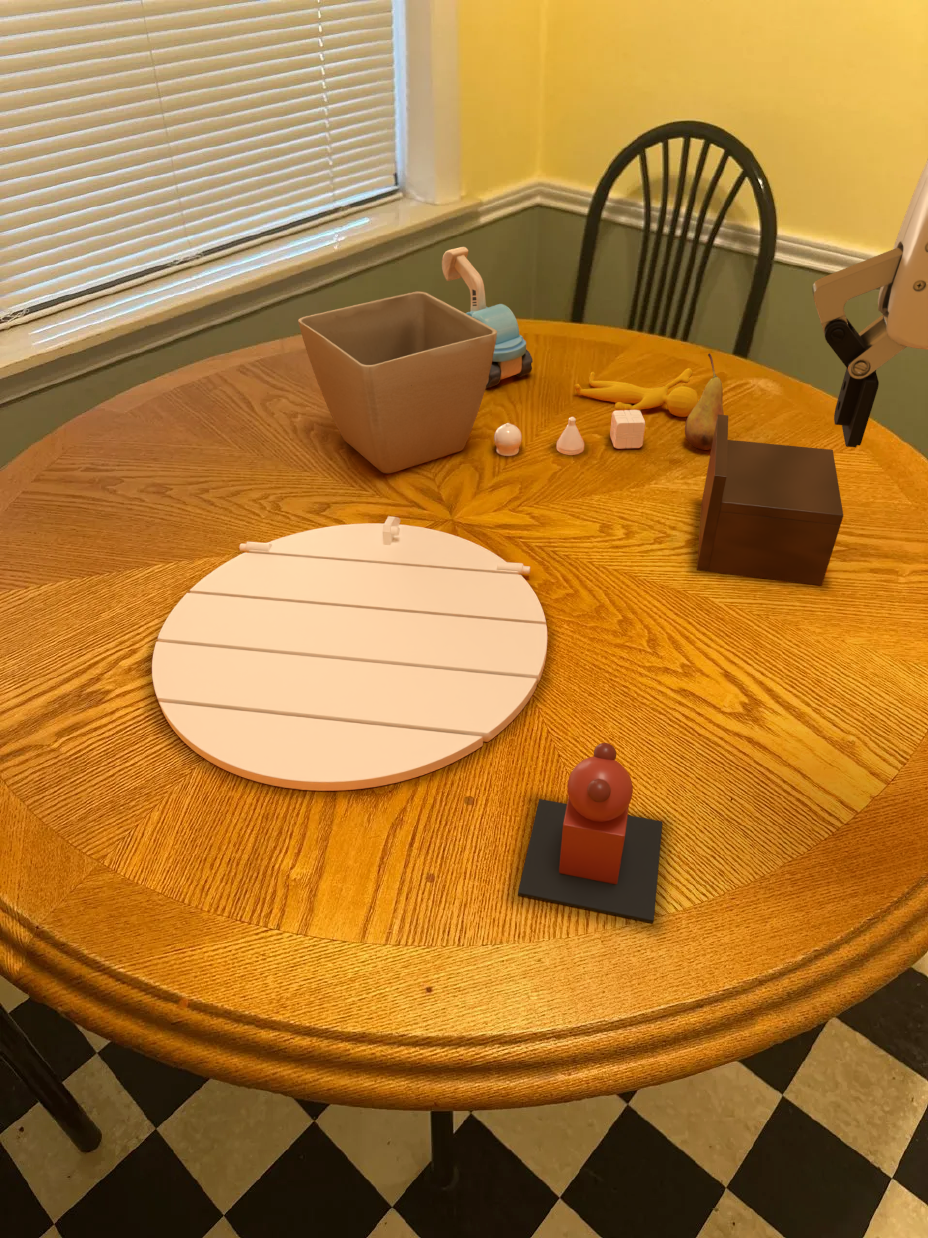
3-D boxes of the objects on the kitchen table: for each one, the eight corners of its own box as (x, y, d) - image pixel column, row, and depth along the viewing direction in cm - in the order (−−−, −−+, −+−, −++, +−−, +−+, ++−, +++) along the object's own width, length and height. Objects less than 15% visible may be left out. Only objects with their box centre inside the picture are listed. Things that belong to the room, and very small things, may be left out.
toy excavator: (475, 345, 145) (474, 238, 134) (536, 379, 134) (540, 265, 124) (433, 358, 142) (428, 249, 131) (492, 393, 131) (492, 278, 120)
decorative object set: (643, 452, 116) (646, 421, 113) (494, 457, 116) (495, 426, 113) (636, 436, 119) (640, 406, 117) (492, 441, 119) (492, 411, 116)
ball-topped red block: (624, 834, 68) (639, 743, 61) (617, 889, 64) (632, 798, 57) (566, 823, 69) (575, 733, 62) (556, 876, 65) (564, 786, 58)
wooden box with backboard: (814, 516, 103) (839, 425, 95) (821, 586, 93) (851, 489, 85) (701, 504, 106) (717, 414, 98) (696, 570, 95) (714, 475, 88)
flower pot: (427, 401, 129) (421, 287, 118) (500, 452, 117) (501, 330, 106) (312, 436, 121) (294, 318, 110) (376, 495, 109) (364, 367, 98)
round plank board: (242, 516, 106) (237, 492, 103) (561, 540, 100) (563, 515, 98) (79, 763, 75) (66, 736, 73) (524, 816, 70) (525, 789, 68)
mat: (662, 824, 69) (662, 821, 69) (653, 923, 62) (653, 920, 62) (539, 801, 71) (539, 798, 71) (517, 895, 64) (517, 892, 64)
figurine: (602, 355, 133) (715, 369, 125) (602, 384, 136) (713, 399, 127) (560, 388, 125) (678, 405, 116) (561, 417, 128) (676, 437, 119)
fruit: (676, 451, 116) (689, 365, 108) (688, 433, 120) (702, 349, 112) (717, 460, 114) (733, 373, 106) (728, 441, 118) (745, 356, 110)
